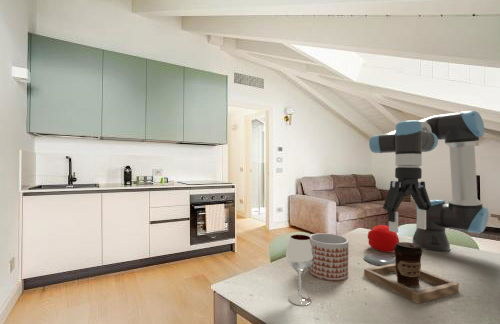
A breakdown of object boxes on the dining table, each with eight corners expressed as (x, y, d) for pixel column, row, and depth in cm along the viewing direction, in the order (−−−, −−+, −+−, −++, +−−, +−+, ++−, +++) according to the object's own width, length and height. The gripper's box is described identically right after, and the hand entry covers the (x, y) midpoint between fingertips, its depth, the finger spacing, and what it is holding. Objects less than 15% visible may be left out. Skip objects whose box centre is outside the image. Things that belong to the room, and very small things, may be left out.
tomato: (400, 259, 112) (370, 252, 122) (405, 234, 117) (376, 229, 127) (391, 249, 105) (360, 242, 116) (396, 222, 110) (366, 217, 121)
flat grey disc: (379, 253, 111) (379, 252, 111) (407, 264, 98) (407, 263, 98) (357, 257, 106) (357, 255, 106) (383, 269, 94) (383, 267, 94)
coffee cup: (428, 291, 77) (428, 249, 77) (399, 288, 79) (399, 247, 79) (416, 279, 85) (416, 241, 86) (390, 276, 87) (390, 239, 87)
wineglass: (319, 299, 71) (319, 237, 72) (305, 311, 65) (306, 243, 66) (295, 289, 77) (295, 232, 77) (280, 300, 71) (280, 237, 71)
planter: (301, 271, 90) (301, 237, 91) (322, 262, 99) (322, 231, 99) (334, 285, 80) (335, 246, 80) (355, 274, 89) (355, 239, 89)
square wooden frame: (401, 268, 94) (401, 262, 94) (458, 292, 77) (458, 284, 77) (364, 276, 87) (364, 268, 87) (417, 303, 70) (417, 294, 70)
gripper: (421, 167, 91) (421, 225, 90) (371, 166, 82) (370, 230, 81) (443, 167, 84) (443, 229, 84) (391, 166, 75) (391, 236, 74)
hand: (407, 230), depth 82 cm, fingers open, 13 cm apart
